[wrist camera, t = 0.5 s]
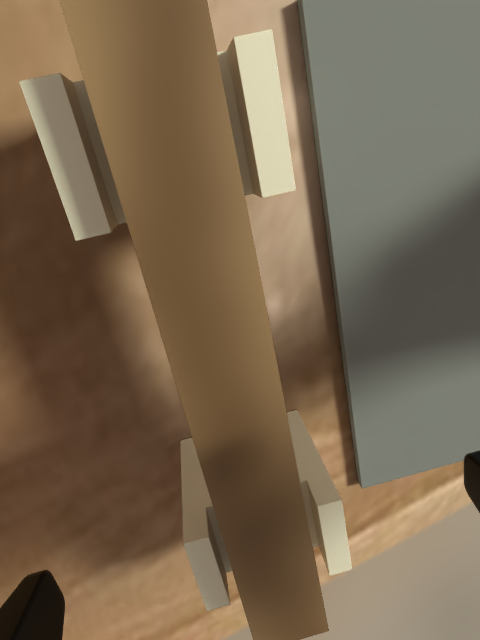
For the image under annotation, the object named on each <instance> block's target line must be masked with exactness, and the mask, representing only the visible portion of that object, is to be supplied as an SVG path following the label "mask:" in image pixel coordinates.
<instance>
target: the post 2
mask: <svg viewBox="0 0 480 640" xmlns="http://www.w3.org/2000/svg"><path fill="white" fill-rule="evenodd" d="M287 417H288V422H289V427H290V432H291V438H292V443H293V448H294V453H295V458H296V463H297V469H298V474H299V479H300V484H301V489H302V494H303V500H304V505H305V510H306V515H307V520H308V525H309V531H310V536H311V541H312V546H313V548H314V547H318V546H319V548H320V551H321V553H322V556H323V559H324V561H325V564H326V567H327V569H328V572H329V575H334V574H337V573H341V572H344V571H348V570H351V569H352V565H351V559H350V552H349V545H348V538H347V532H346V525H345V518H344V511H343V505H342V499H341V497H340V495H339V493H338V491H337V489H336V487H335V485H334V483H333V481H332V479H331V477H330V475H329V473H328V471H327V469H326V467H325V465H324V463H323V461H322V459H321V457H320V455H319V453H318V451H317V449H316V447H315V445H314V443H313V440H312V438H311V436H310V434H309V432H308V430H307V428H306V426H305V424H304V422H303V420H302V418H301V416H300V414H299V412H298V410H294V411H290V412H287ZM180 446H181V480H182V515H183V545H184V547H185V550H186V553H187V556H188V559H189V561H190V564H191V567H192V570H193V573H194V576H195V578H196V581H197V584H198V587H199V590H200V593H201V595H202V598H203V601H204V604H205V607H206V609H207V611H210V610H213V609H217V608H220V607H223V606H227V605H230V599H229V591H228V584H227V576H226V572H230V571H232V568H231V565H230V561H229V558H228V555H227V551H226V548H225V545H224V541H223V538H222V535H221V532H220V528H219V525H218V522H217V518H216V515H215V512H214V508H213V505H212V502H211V499H210V495H209V492H208V489H207V485H206V482H205V479H204V475H203V472H202V469H201V466H200V462H199V459H198V456H197V452H196V449H195V446H194V442H193V439H192V438H188V439H184V440H180Z"/></svg>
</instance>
